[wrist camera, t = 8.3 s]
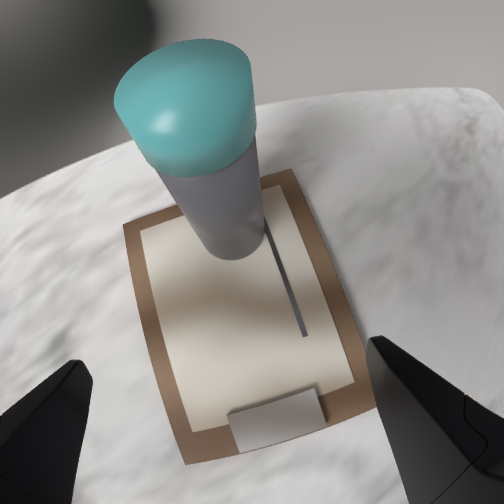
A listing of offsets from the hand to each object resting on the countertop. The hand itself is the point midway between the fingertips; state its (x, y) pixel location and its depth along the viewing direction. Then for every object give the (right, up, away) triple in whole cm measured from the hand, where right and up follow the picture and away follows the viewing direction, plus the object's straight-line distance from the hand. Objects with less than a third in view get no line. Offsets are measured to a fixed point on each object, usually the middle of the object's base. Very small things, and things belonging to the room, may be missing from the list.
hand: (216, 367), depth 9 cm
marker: (0, +5, +11) cm, 12 cm away
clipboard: (0, 0, +10) cm, 10 cm away
